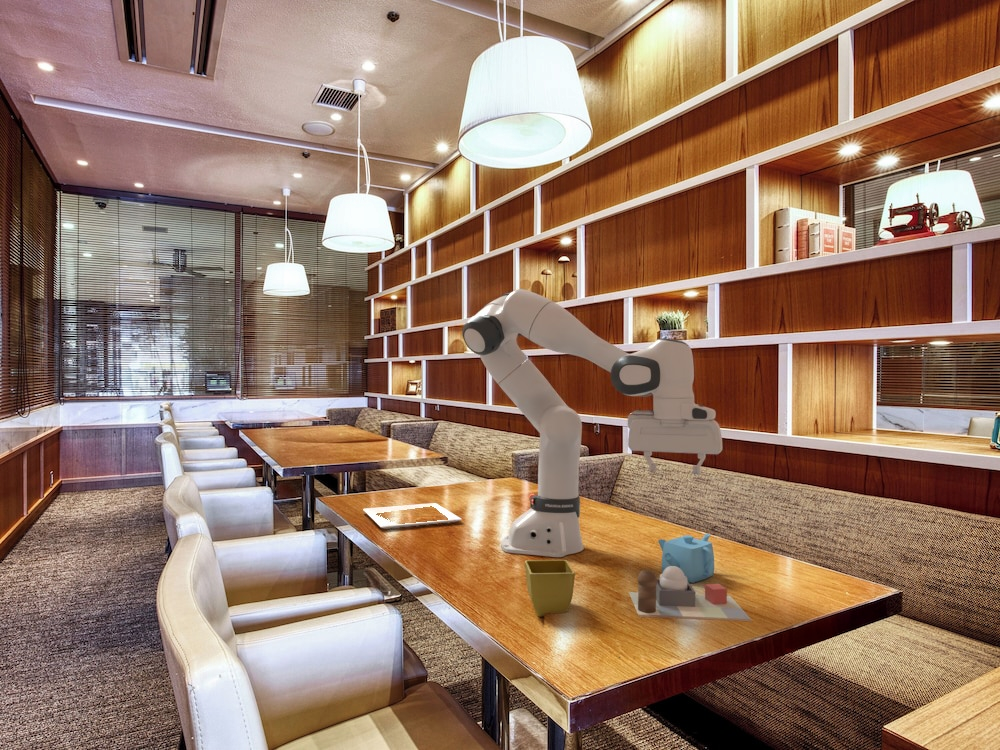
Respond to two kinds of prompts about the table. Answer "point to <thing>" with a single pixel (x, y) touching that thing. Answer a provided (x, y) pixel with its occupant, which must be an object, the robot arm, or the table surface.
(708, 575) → the teapot
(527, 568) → the flower pot
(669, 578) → the dome
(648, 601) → the pawn
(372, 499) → the table surface
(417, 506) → the white frame
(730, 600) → the board
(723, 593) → the red cube
